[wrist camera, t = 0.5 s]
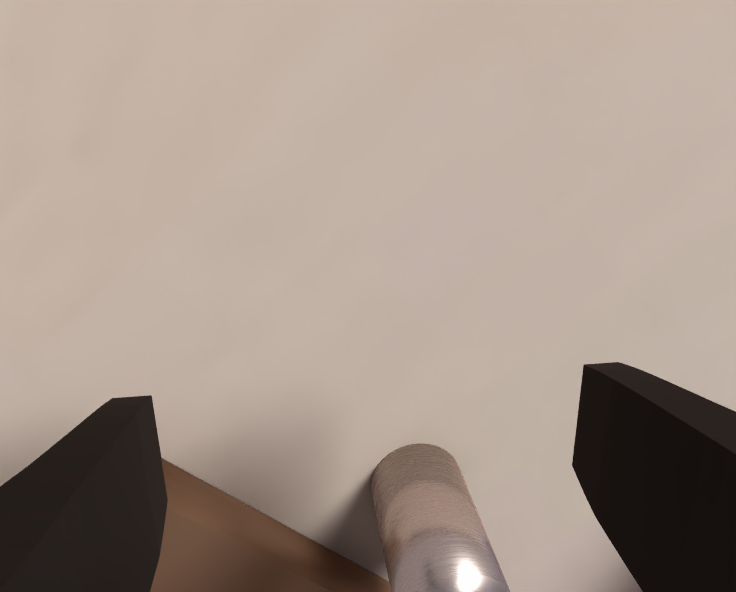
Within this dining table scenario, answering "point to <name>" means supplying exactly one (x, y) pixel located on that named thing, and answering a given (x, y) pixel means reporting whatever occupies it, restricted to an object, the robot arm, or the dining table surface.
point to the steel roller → (431, 525)
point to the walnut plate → (242, 548)
